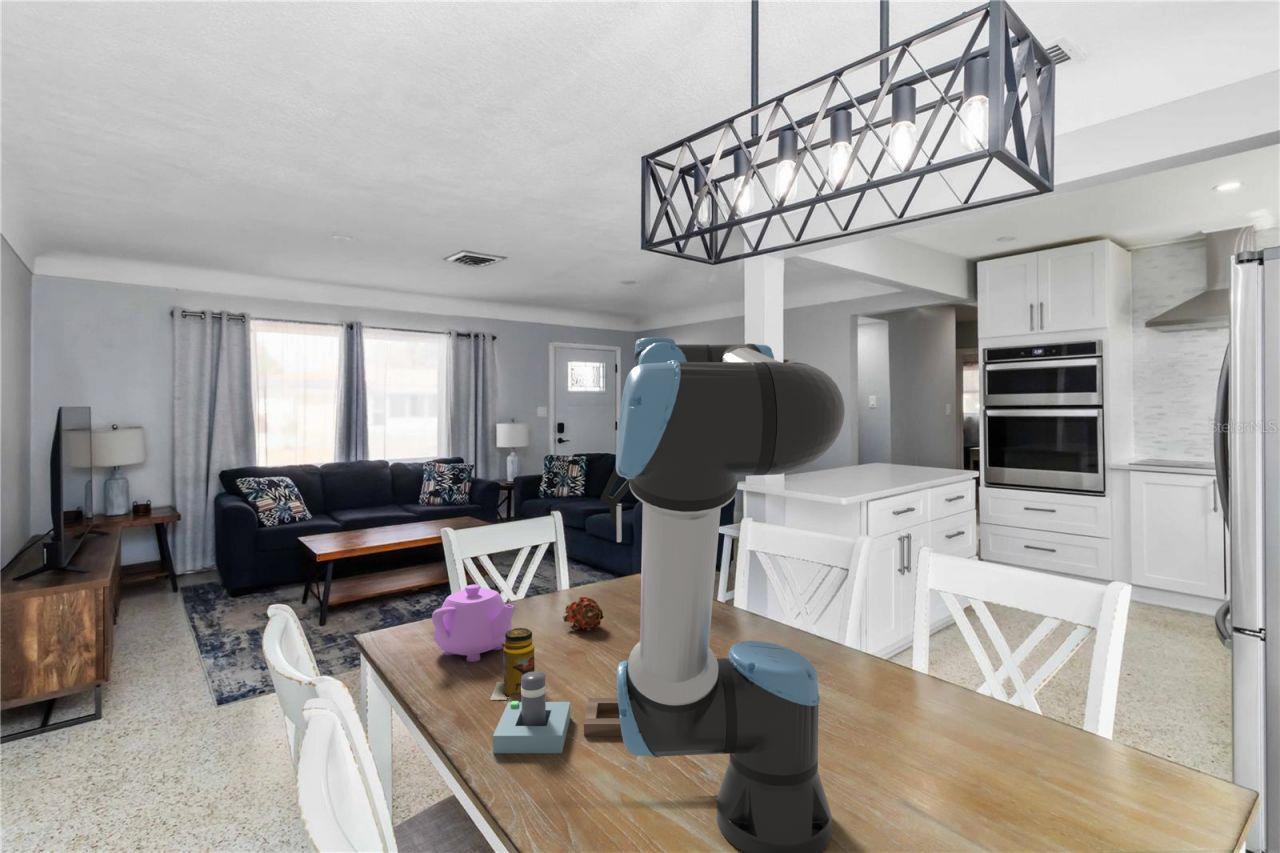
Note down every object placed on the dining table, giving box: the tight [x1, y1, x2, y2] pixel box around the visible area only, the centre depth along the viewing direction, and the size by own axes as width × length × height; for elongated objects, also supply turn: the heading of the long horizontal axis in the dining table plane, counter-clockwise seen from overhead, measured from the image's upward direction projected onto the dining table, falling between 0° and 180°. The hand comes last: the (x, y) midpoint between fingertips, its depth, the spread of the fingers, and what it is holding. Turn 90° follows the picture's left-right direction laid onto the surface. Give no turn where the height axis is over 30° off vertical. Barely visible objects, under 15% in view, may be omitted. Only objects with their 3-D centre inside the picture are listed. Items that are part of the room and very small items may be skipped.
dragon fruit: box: [562, 596, 605, 631], centre depth 155 cm, size 8×8×12 cm
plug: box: [520, 671, 547, 726], centre depth 103 cm, size 4×4×10 cm
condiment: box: [489, 627, 536, 701], centre depth 121 cm, size 7×8×12 cm
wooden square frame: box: [583, 697, 622, 737], centre depth 107 cm, size 9×9×3 cm
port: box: [492, 700, 571, 754], centre depth 103 cm, size 11×11×5 cm
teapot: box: [431, 584, 516, 663], centre depth 139 cm, size 20×20×15 cm
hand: (656, 540), depth 111 cm, fingers open, 13 cm apart
